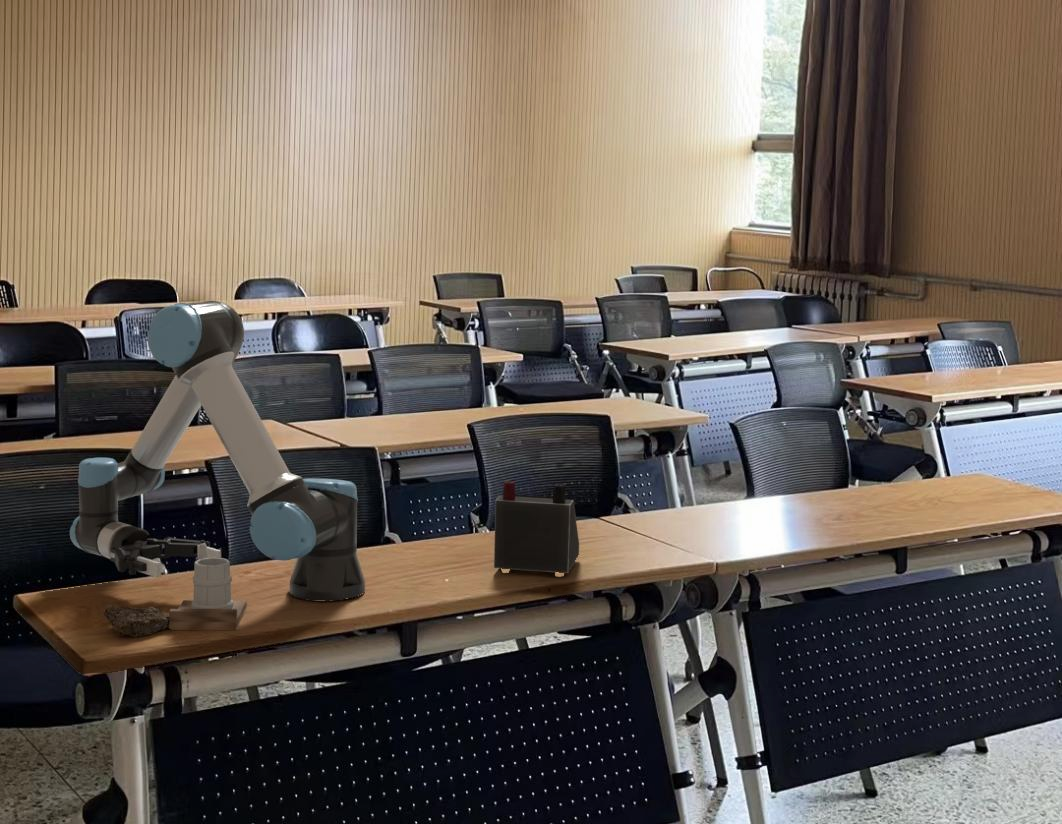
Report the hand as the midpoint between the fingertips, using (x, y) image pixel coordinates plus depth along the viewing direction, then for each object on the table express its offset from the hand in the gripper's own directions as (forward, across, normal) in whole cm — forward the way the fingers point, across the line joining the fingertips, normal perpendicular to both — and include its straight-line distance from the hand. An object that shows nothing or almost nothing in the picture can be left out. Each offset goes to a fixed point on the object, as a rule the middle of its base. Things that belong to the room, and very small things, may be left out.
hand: (189, 563), depth 260 cm
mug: (+5, -1, -8) cm, 10 cm away
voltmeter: (+23, -74, -10) cm, 78 cm away
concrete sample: (+2, +13, -10) cm, 17 cm away
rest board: (+5, -1, -10) cm, 11 cm away
